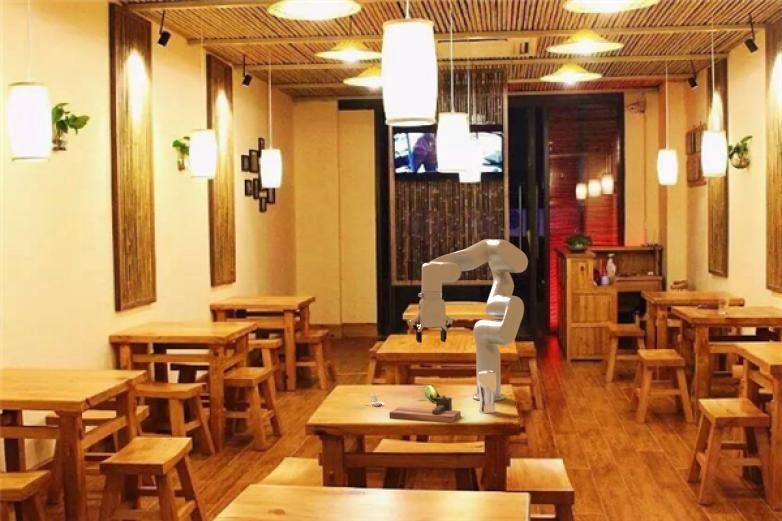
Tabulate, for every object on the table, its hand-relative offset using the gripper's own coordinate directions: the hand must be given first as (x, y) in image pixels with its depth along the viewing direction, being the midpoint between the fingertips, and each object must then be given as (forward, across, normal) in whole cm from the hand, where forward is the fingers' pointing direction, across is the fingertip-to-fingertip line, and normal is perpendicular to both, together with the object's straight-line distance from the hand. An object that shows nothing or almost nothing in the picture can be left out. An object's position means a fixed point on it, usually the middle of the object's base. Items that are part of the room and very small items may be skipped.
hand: (431, 342), depth 362 cm
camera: (+27, 0, -8) cm, 28 cm away
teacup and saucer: (+27, -17, +22) cm, 39 cm away
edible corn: (+26, +11, +23) cm, 37 cm away
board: (+27, -5, -7) cm, 28 cm away
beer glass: (+26, +20, -8) cm, 34 cm away
